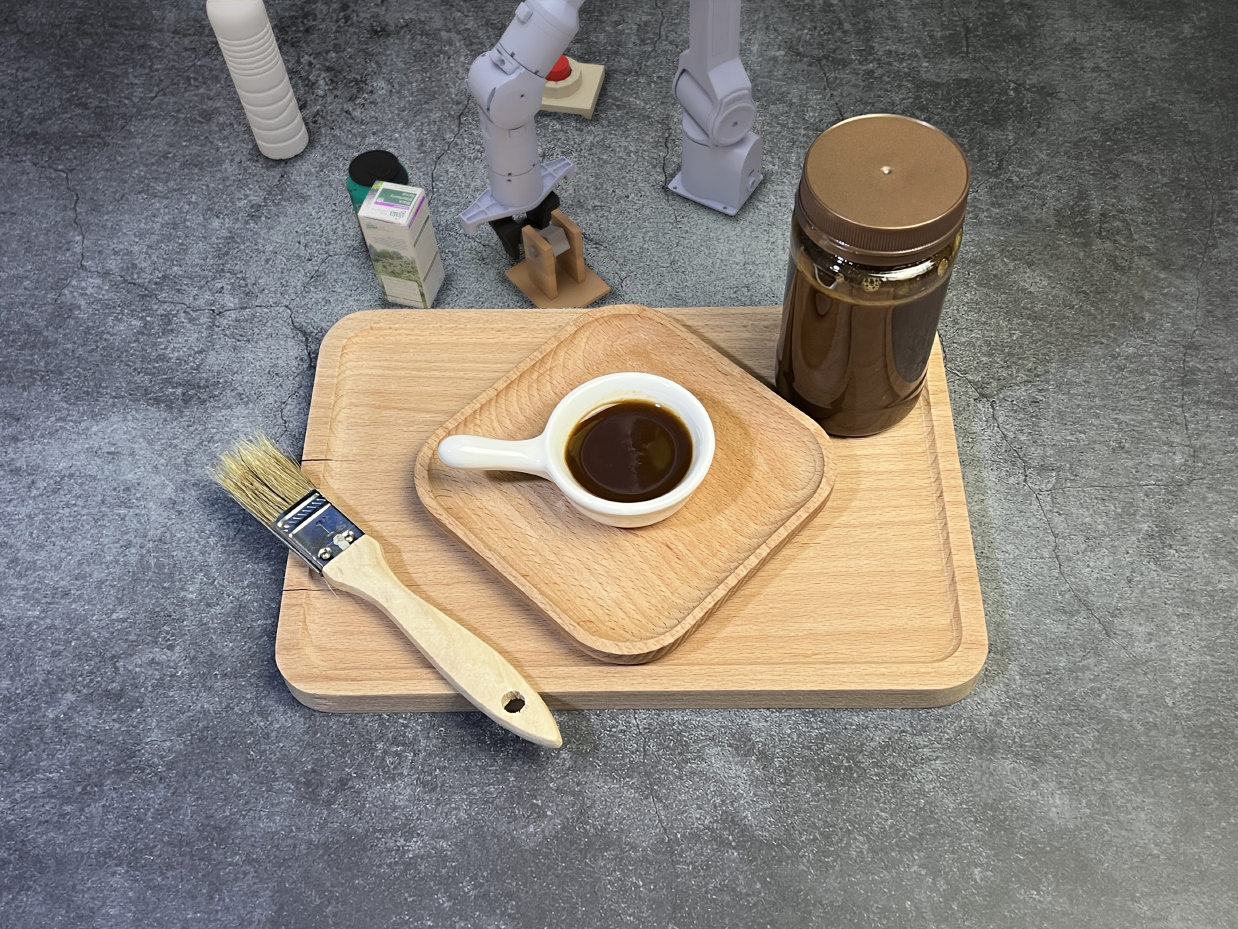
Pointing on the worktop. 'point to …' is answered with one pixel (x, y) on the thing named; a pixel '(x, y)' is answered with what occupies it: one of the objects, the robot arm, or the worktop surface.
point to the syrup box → (402, 243)
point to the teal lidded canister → (373, 176)
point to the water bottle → (259, 75)
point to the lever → (546, 235)
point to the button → (559, 70)
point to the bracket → (556, 270)
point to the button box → (574, 90)
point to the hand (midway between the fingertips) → (525, 247)
